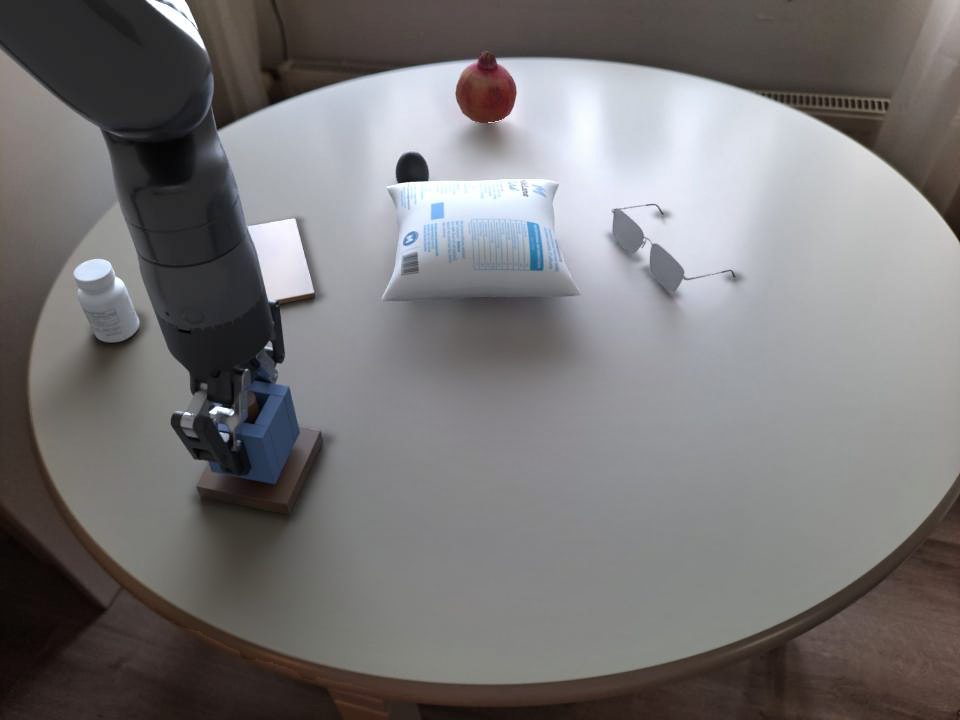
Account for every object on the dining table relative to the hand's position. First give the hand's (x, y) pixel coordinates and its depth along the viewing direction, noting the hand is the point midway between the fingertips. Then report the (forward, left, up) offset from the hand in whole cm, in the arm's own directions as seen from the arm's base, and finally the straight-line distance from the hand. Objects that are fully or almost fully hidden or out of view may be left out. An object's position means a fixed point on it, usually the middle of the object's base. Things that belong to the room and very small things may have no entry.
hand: (253, 440), depth 67 cm
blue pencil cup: (0, 0, -2) cm, 2 cm away
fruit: (+37, +51, -4) cm, 62 cm away
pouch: (+26, +21, -4) cm, 34 cm away
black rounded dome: (+23, +38, -4) cm, 45 cm away
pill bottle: (-12, +22, -4) cm, 25 cm away
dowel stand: (0, 0, -4) cm, 4 cm away
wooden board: (+1, +28, -4) cm, 28 cm away
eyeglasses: (+48, +17, -4) cm, 51 cm away
